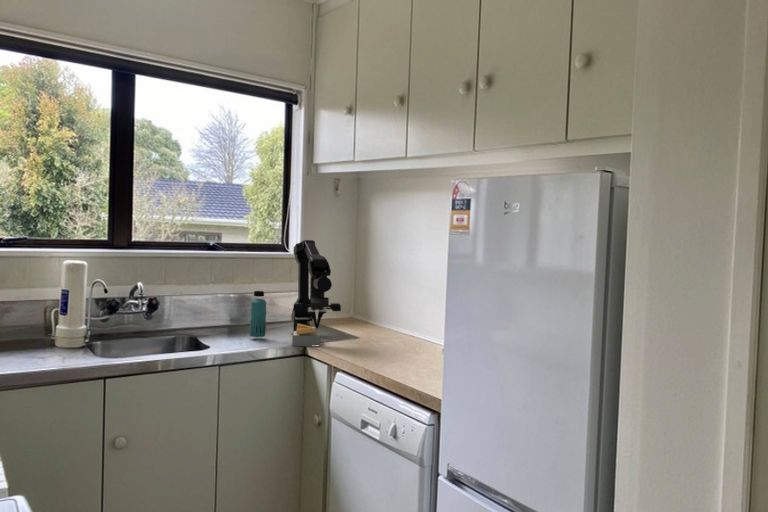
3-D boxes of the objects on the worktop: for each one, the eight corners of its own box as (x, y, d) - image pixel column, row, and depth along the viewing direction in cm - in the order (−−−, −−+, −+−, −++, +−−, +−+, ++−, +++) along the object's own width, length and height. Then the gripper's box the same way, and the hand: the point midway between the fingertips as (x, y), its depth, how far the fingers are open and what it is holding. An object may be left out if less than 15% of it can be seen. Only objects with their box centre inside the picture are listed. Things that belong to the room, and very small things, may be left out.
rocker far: (296, 328, 233) (297, 324, 233) (296, 326, 237) (297, 323, 237) (315, 332, 234) (316, 329, 234) (315, 331, 238) (316, 327, 238)
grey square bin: (292, 345, 227) (292, 333, 226) (292, 340, 238) (293, 329, 237) (320, 346, 228) (320, 334, 228) (319, 341, 239) (320, 329, 239)
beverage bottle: (254, 341, 232) (256, 291, 231) (246, 338, 237) (248, 290, 236) (268, 339, 237) (270, 291, 236) (260, 337, 242) (262, 289, 241)
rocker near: (296, 334, 228) (296, 330, 228) (296, 332, 231) (296, 328, 231) (317, 332, 229) (316, 328, 229) (316, 330, 232) (316, 326, 232)
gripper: (293, 291, 221) (292, 331, 221) (342, 291, 223) (341, 331, 224) (293, 288, 232) (293, 327, 232) (340, 289, 234) (339, 327, 235)
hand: (316, 328), depth 230 cm, fingers closed
